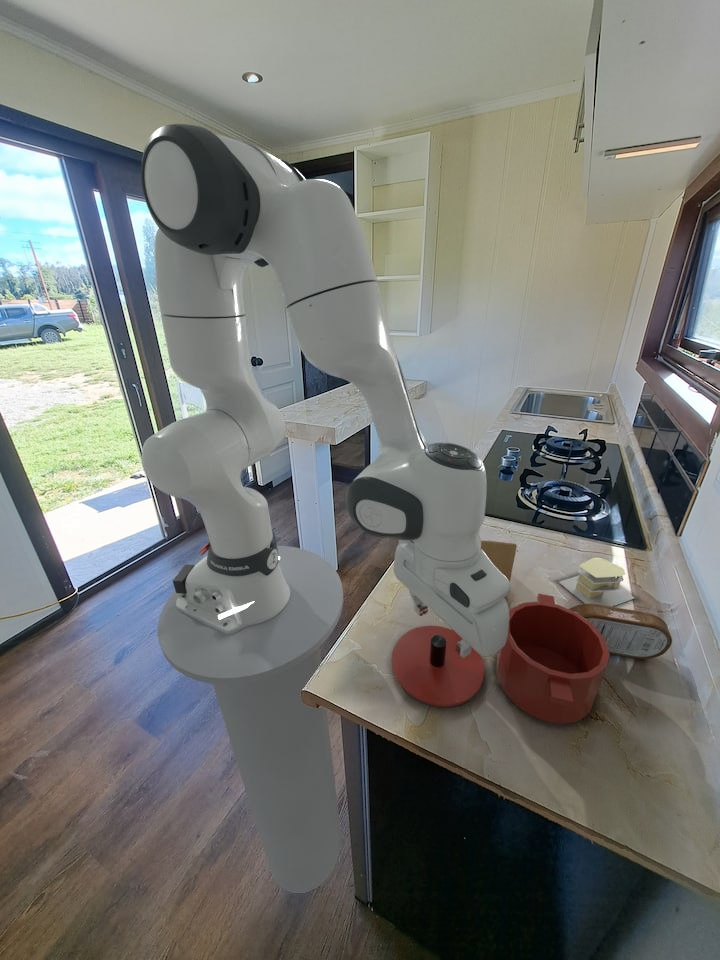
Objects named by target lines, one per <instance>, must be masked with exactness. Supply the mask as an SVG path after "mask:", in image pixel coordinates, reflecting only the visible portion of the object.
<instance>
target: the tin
mask: <svg viewBox="0 0 720 960" xmlns="http://www.w3.org/2000/svg"><path fill="white" fill-rule="evenodd" d="M568 609H569V610H572V611H574V612H576V613H578V614H579V615H581V616H582V617H583V618H585V619H586V620H587V621H589V622H590V623H592V624H593V625H594V626H595V627H596V629H597V630H598V631H599V632H600V633H601V635H602V636H603V637H604V638H605V641H606V644H607V647H608V650H609V654H610V655H616V656H622V657H626V658H632V659H637V660H651V659H655V658H657V657H660V656H662V655H664V654H666V653H667V651H669V649H670V648H671V646H672V644H673V637H672V635H671V632H670V631H669V627H668V624H667V623H666V622H665V620H664V619H663V618H661V617H659V616H658V615H656V614H653V613H650V612H646V611H641V610H636V609H635V610H634V609H628V608H623V607H617V606H606V605H600V604H594V603H580V604H576V605H574V606H573V605H572V606H571V607H569V608H568Z"/></svg>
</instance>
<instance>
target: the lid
mask: <svg viewBox="0 0 720 960" xmlns="http://www.w3.org/2000/svg"><path fill="white" fill-rule="evenodd" d="M461 640H462V638H461V637H460V636H459V635H458V634H457V633H456V632H455V631H454V630H452V629H451V628H448V627H444V626H439V625H423V626H418V627H414V628H412V629H410V630H408V631H407V632H405V633H404V634H402V636H401V637H399V639H398V640H397V641H396V643H395V645H394V647H393V649H392V653H391V667H392V671H393V674H394V677H395V679H396V681H397V682H398V684H399V685H400V686H401V687H402V689H403V690H404V691H405V693H407V694H409V696H411V697H413V698H414V699H416V700H418V701H419V702H422V703H424V704H427V705H430V706H434V707H442V708H445V707H446V708H447V707H455V706H459V705H463V704H464V703H466V702H468V701H470V700H471V699H473V698H474V697H475V696H476V695H477V693H478V692H479V691H480V689H481V687H482V685H483V683H484V680H485V679H484V678H485V666H484V661H483V659H482V658H483V657H482V656H481V655H479V654H478V653H477V652H476V651H475V650H474V649H473V648H472V650H471V653H470V654H469V655H468V656H466V657H465V658H462V657H461V656H460V655H459V654H458V653H457V652H456V650H455V649H456V643H457V642H459V641H461Z"/></svg>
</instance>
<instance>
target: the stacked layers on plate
mask: <svg viewBox="0 0 720 960" xmlns="http://www.w3.org/2000/svg"><path fill="white" fill-rule="evenodd" d="M578 566H579V567H580V568H579V569H578V570H577V573H579V574H578V575H576V576H572V577H570V578H566V579H563V580H560V581H558V583H559V584H560V585H561V586H563V587H564V588H565V589H566V590H567V591H569V592H570V593H571V594H572V595H574V596H575V597H576V598H577V599H578V600H580V601H581V602H582V603H583V604H585V603H594V604H600V605H606V606H612V607H616V606H618V605H621V604H623V603H626V602H629V601H631V600H634V599H635V596H633V595H632V594H630V593H629V592H627V591H626V590H624V589H623V588H622V587H621V584H620V583H622V582H624V581H625V580H624V579H625V578H624V575H626V571H625V569H624V568H623V567H621V566H620V565H617V564H615V563H614V562H611V561H608V560H607V559H605V558H603V557H602V558H601V557H592V558H590V559H589V560H586V561H584V562H582V563H580V564H579V565H578Z"/></svg>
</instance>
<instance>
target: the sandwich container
mask: <svg viewBox="0 0 720 960" xmlns="http://www.w3.org/2000/svg"><path fill="white" fill-rule="evenodd" d="M517 547H518V545H517V544H516V543H513V542H505V541H497V540H496V541H494V540H482V539H481V549H482V550H483V551H484V552H485V554H486V555H487V557H488V558H489V559H490V561H491V562H492V563H493V564H494V565H495V567H496V568H497V569H498V570H499V571H500V572H501V573H502V574H503V575H504V576H505V577H506V578H507V579H508V581H509V582H510V583H511V579H512V573H513V568H514V562H515V557H516V552H517ZM504 599H505V600H506V601H507V599H508V595H507V596H506V597H505V598H504Z"/></svg>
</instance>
